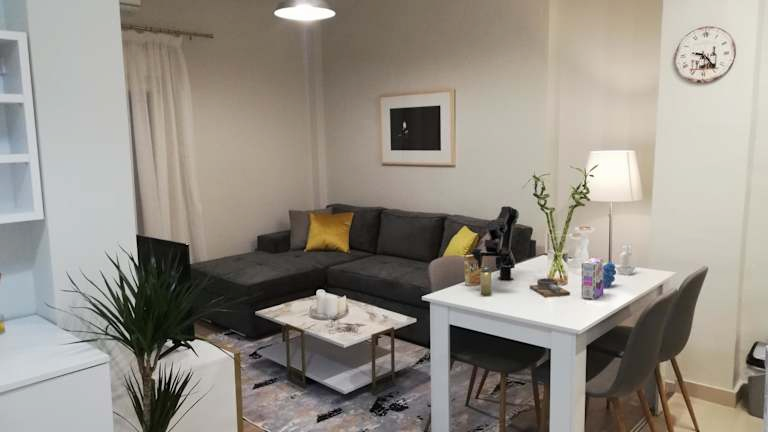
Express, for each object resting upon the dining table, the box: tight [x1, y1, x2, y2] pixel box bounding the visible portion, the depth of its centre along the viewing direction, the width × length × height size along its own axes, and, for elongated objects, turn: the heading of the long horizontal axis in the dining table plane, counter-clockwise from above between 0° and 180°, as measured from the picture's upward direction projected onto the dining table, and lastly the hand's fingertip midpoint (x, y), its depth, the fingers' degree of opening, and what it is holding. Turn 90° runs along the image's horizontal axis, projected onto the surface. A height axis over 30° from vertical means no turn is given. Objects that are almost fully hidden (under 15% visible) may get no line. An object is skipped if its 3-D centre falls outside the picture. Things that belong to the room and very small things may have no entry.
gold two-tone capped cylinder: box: [480, 266, 493, 297], centre depth 272 cm, size 5×5×13 cm
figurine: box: [615, 245, 637, 276], centre depth 304 cm, size 7×9×15 cm
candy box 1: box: [463, 254, 484, 287], centre depth 294 cm, size 9×4×15 cm, turn 107°
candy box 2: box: [581, 257, 604, 301], centre depth 262 cm, size 14×6×16 cm, turn 143°
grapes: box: [603, 261, 617, 288], centre depth 279 cm, size 12×7×12 cm, turn 127°
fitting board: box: [529, 277, 571, 298], centre depth 274 cm, size 18×12×5 cm, turn 8°
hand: (488, 269), depth 276 cm, fingers open, 9 cm apart
